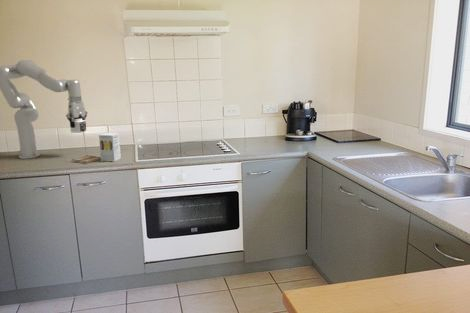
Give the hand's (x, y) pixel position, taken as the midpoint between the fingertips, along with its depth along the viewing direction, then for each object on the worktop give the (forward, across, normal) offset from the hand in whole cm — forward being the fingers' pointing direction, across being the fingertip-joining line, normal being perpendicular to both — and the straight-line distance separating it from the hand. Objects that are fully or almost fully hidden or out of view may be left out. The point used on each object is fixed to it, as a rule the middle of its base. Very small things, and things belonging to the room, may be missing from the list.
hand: (78, 126), depth 267 cm
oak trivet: (+20, -7, -12) cm, 25 cm away
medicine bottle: (+4, 0, 0) cm, 4 cm away
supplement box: (+20, 0, -25) cm, 33 cm away
